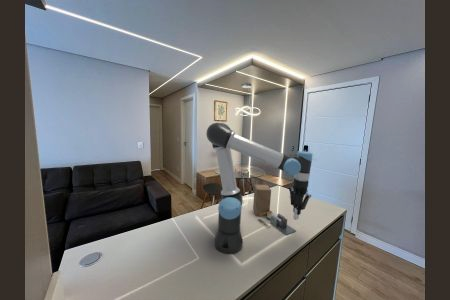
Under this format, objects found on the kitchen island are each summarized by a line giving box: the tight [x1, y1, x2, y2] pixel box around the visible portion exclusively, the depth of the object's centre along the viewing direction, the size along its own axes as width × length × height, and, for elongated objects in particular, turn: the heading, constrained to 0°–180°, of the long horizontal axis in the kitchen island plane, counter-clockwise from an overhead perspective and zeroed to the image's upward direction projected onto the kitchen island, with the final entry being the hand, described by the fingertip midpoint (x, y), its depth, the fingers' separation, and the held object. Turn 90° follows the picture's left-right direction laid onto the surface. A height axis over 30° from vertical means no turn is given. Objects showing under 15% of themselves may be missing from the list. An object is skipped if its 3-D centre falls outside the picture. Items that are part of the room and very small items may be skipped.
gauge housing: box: [256, 213, 297, 236], centre depth 106 cm, size 14×20×5 cm
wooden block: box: [252, 184, 272, 217], centre depth 121 cm, size 10×10×20 cm
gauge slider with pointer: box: [260, 209, 288, 228], centre depth 108 cm, size 11×15×5 cm
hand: (295, 218), depth 95 cm, fingers closed
